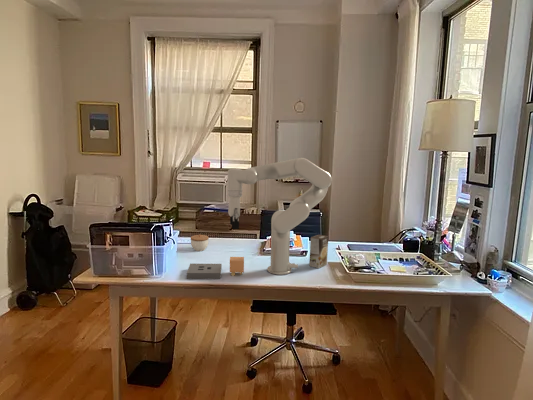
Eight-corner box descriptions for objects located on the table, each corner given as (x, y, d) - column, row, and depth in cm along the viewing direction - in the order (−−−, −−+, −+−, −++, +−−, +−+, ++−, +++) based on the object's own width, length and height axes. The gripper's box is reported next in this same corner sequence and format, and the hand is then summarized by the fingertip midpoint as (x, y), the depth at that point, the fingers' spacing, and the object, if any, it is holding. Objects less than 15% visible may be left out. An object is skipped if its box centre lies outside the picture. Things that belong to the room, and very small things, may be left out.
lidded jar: (187, 251, 233) (187, 235, 232) (194, 246, 244) (194, 231, 242) (204, 252, 231) (204, 237, 230) (211, 247, 241) (211, 233, 240)
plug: (243, 271, 201) (244, 256, 199) (243, 276, 195) (244, 260, 193) (230, 271, 200) (230, 256, 199) (229, 276, 194) (229, 260, 193)
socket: (221, 269, 204) (221, 263, 203) (220, 279, 190) (220, 273, 190) (190, 269, 203) (190, 263, 202) (186, 278, 189) (186, 273, 189)
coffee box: (319, 268, 208) (320, 239, 206) (308, 266, 212) (310, 237, 209) (327, 264, 216) (328, 236, 213) (316, 262, 220) (318, 234, 217)
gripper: (225, 190, 204) (225, 223, 207) (229, 196, 188) (228, 231, 191) (240, 190, 206) (239, 222, 209) (244, 196, 189) (244, 230, 192)
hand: (234, 226), depth 200 cm, fingers open, 9 cm apart
